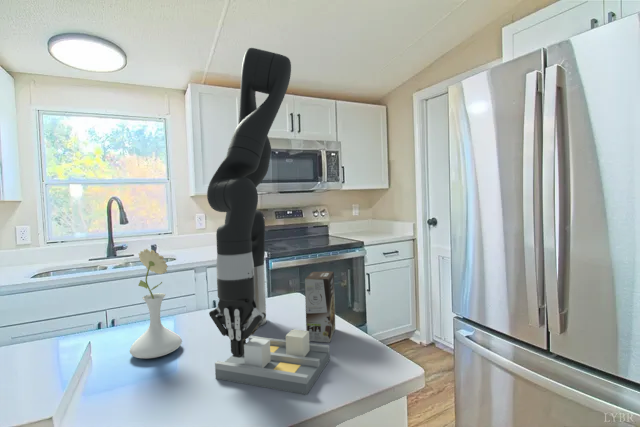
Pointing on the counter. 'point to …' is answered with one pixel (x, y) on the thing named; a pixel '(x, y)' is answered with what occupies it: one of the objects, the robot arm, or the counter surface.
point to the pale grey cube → (257, 352)
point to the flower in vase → (154, 316)
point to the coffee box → (320, 306)
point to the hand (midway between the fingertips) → (238, 355)
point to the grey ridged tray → (278, 368)
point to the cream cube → (297, 343)
